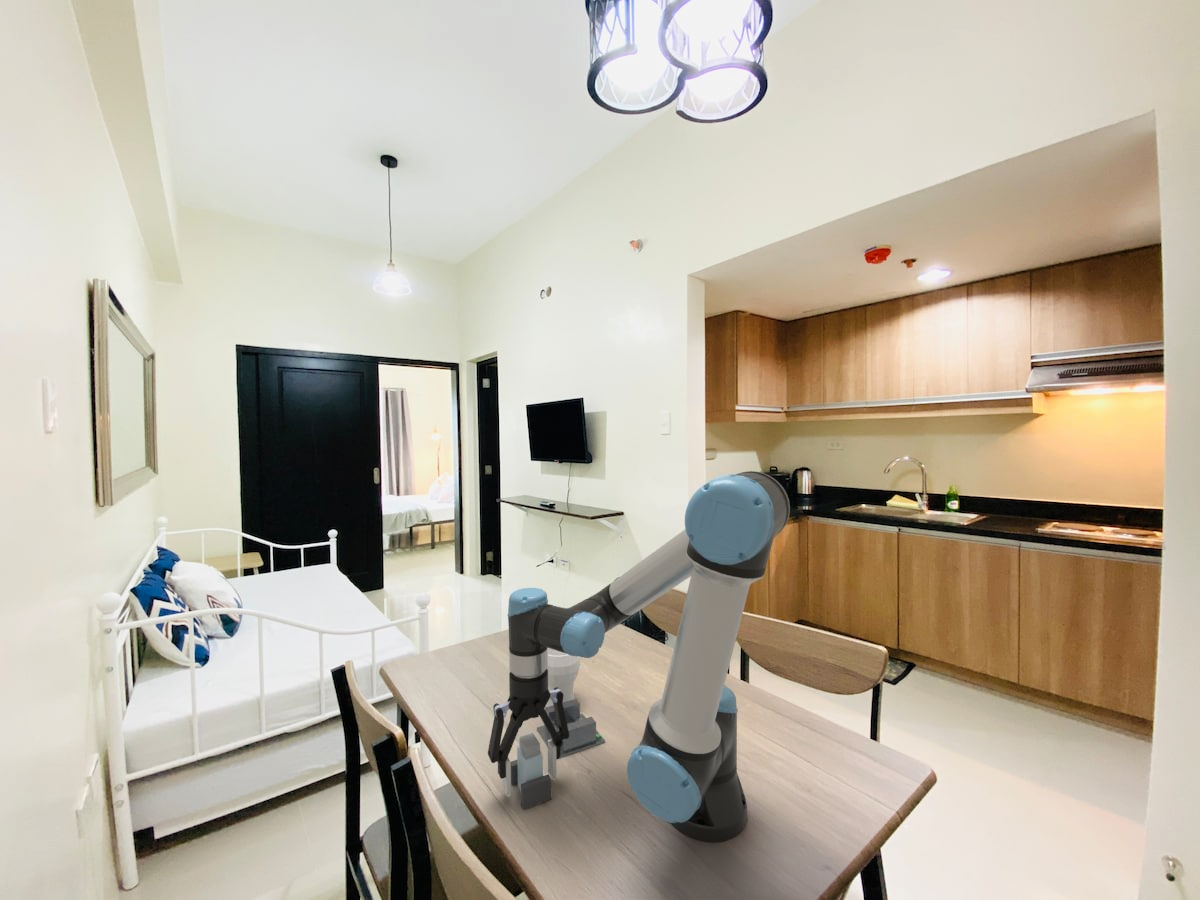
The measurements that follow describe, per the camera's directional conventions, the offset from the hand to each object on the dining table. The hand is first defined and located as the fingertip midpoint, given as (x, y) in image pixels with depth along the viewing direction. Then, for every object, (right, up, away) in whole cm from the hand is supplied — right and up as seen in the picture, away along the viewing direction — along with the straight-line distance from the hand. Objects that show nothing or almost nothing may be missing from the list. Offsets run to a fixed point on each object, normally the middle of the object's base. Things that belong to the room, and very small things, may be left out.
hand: (530, 783), depth 94 cm
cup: (+3, -1, +30) cm, 30 cm away
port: (+7, -1, +17) cm, 18 cm away
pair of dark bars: (0, -1, 0) cm, 1 cm away
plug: (0, -1, 0) cm, 1 cm away
